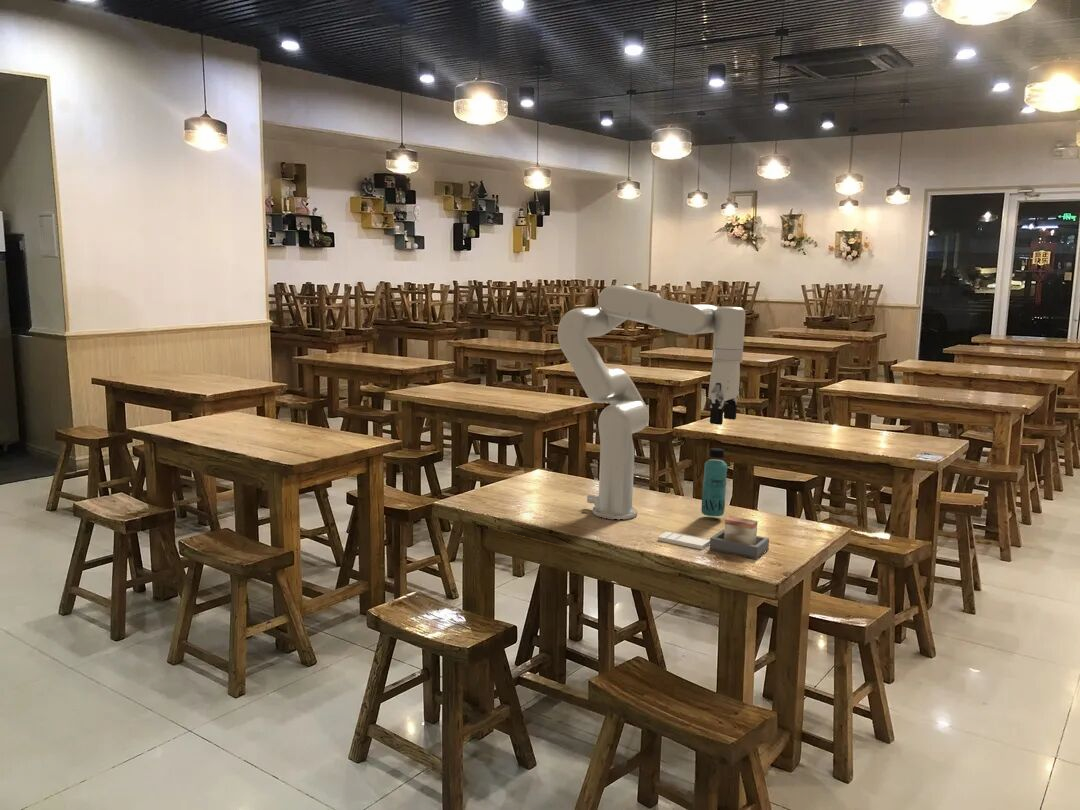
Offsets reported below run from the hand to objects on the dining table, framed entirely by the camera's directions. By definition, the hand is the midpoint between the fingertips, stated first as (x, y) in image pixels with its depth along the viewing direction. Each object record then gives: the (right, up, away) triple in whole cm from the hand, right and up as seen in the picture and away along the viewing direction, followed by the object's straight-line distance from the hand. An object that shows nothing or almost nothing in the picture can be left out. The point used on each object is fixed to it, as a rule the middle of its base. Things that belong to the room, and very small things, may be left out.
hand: (722, 421), depth 220 cm
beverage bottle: (+1, -28, +19) cm, 34 cm away
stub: (+2, -31, -8) cm, 32 cm away
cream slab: (-10, -31, -3) cm, 32 cm away
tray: (+2, -32, -8) cm, 33 cm away
